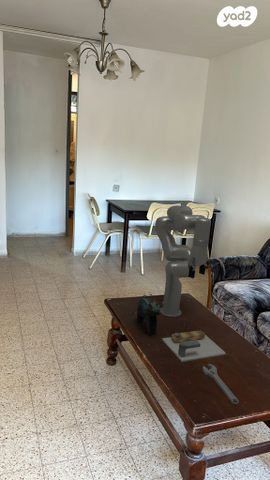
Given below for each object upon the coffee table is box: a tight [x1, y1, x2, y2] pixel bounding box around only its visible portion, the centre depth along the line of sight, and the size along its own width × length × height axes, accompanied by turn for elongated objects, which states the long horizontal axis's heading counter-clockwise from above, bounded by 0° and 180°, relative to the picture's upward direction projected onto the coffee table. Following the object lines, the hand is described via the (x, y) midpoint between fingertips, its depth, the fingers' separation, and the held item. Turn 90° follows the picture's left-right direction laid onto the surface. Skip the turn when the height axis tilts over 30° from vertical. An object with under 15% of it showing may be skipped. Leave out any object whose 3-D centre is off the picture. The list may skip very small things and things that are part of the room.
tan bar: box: [171, 330, 206, 343], centre depth 181 cm, size 17×4×4 cm, turn 112°
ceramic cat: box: [136, 293, 161, 336], centre depth 189 cm, size 20×6×20 cm, turn 22°
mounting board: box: [161, 334, 226, 363], centre depth 176 cm, size 20×24×6 cm
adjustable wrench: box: [202, 363, 240, 406], centre depth 149 cm, size 25×6×2 cm, turn 12°
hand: (196, 275), depth 182 cm, fingers open, 9 cm apart
